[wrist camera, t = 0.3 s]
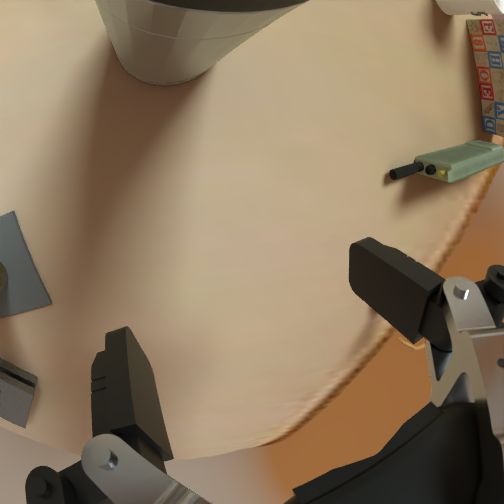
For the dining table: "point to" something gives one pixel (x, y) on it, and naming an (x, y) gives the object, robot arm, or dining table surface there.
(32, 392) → the slotted grey base plate
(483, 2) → the candle
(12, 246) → the rubber mat
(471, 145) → the handheld radio
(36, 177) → the dining table surface
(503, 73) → the stack of blocks
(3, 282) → the brass pin
